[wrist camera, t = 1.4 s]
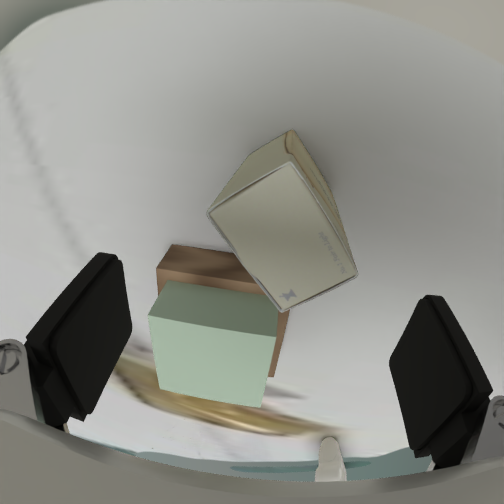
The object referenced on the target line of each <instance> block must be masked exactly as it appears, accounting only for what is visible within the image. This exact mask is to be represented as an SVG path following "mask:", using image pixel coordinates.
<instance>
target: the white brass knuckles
mask: <svg viewBox="0 0 504 504" xmlns="http://www.w3.org/2000/svg"><path fill="white" fill-rule="evenodd" d="M331 481H347V478H346V469H345V466H344V463H343V459H342V455H341V452H340V449H339V445H338V443H337V441H336V440H335V439H334V438H333V437H327V438H325V439H324V440H323V442H322V444H321V446H320V451H319V466H318V468H317V469H316V474H315V482H331Z"/></svg>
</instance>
